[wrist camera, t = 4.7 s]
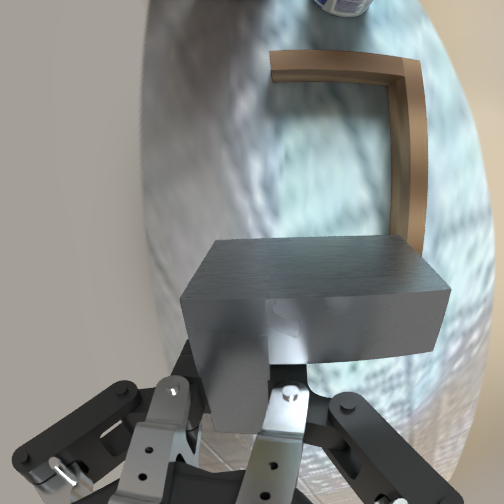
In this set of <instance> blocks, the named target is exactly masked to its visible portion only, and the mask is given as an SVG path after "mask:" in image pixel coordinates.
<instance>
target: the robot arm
mask: <svg viewBox="0 0 504 504" xmlns="http://www.w3.org/2000/svg"><path fill="white" fill-rule="evenodd" d="M267 382H268V400H269V405H268V408H267V412H266V416H265V420H264V423H263V427H262V430H261V432H258V434H257V436H256V439H255V443H254V446H253V449H252V453H251V456H250V459H249V463H248V466H247V469H246V470H238V471H229V472H219V473H211V472H208V471H205V470H202V469H200V468H199V463H198V456H199V448H200V439H201V431H202V422H201V419H202V415H203V413H208V414H211V411H210V407H209V404H208V401H207V397H206V394H205V390H204V387H203V383H202V380H201V377H199V376H198V372H197V368H196V365H195V361H194V357H193V353H192V350H191V346H190V342H189V339H188V340H187V341H186V343H185V345H184V347H183V350H182V352H181V354H180V356H179V358H178V360H177V362H176V365H175V367H174V369H173V371H172V373H171V375H170V376H168V377H165V378H163V379H162V380H160V381H159V382H158V384H157V386H156V387H154V388H147V389H138V388H137V386H136V385H135V384H134V383H133V382H131V381H127V380H123V381H118V382H116V383H114V384H112V385H111V386H109V387H108V388H107V389H105V390H104V391H102V392H101V393H100V394H98V395H97V396H95V397H94V398H92V399H91V400H89V401H88V402H86V403H85V404H84V405H82V406H81V407H79V408H78V409H76V410H75V411H73V412H72V413H70V414H69V415H67V416H66V417H64V418H63V419H61V420H60V421H58V422H57V423H55V424H54V425H52V426H51V427H49V428H48V429H46V430H45V431H43V432H42V433H41V434H39V435H37V436H36V437H34V438H33V439H31V440H30V441H28V442H27V443H25V444H23V445H22V446H20V447H19V448H18V449H16V450H15V452H14V453H13V456H12V464H13V466H14V468H15V469H16V470H17V471H18V472H19V473H20V474H21V475H22V476H24V477H25V478H26V480H27V481H28V482H30V483H31V484H32V485H33V486H34V487H35V489H36V490H37V492H38V494H39V495H40V497H41V498H42V500H43V502H44V503H45V504H313V503H312V502H311V501H310V500H309V499H308V498H307V497H306V496H305V495H304V494H303V493H302V492H301V491H300V490H298V489H297V488H296V486H297V481H298V475H299V469H300V463H301V457H302V451H303V444H304V443H306V444H310V445H314V446H318V447H322V449H323V450H324V452H325V453H326V454H327V456H328V457H329V459H330V460H331V461H332V463H333V464H334V465H335V467H336V468H337V469H338V471H339V472H340V473H341V475H342V476H343V477H344V479H345V480H346V481H347V483H348V484H349V485H350V486H351V488H352V489H353V490H354V492H355V493H356V494H357V495H358V497H359V498H360V499H361V500H362V502H363V503H364V504H464V501H463V498H462V496H461V495H460V494H459V493H458V492H457V491H456V490H455V489H454V488H453V487H452V486H451V485H450V484H449V483H448V482H447V481H446V480H445V479H444V478H443V477H442V476H441V475H439V474H438V473H437V472H436V471H435V470H434V469H433V468H432V467H431V466H430V465H429V464H428V463H427V462H426V461H425V460H424V459H423V458H422V457H421V456H420V455H419V454H418V453H417V452H416V451H415V450H414V449H413V448H412V447H411V446H410V445H409V444H408V443H407V442H406V441H405V440H404V439H403V438H402V437H401V436H400V435H399V434H398V433H397V432H396V431H395V430H394V429H393V427H392V426H391V425H390V424H389V423H388V422H387V421H386V420H385V419H384V418H383V417H382V416H381V415H380V414H379V413H378V412H377V411H376V410H375V409H374V408H373V407H372V406H371V405H370V404H369V403H368V402H367V401H366V400H365V399H364V398H363V397H362V396H361V395H359V394H357V393H354V392H343V393H339V394H337V395H335V396H334V397H333V398H327V397H323V396H319V395H317V394H315V393H314V392H312V391H311V389H310V388H309V386H308V383H307V367H306V364H271V375H270V380H267ZM119 420H121V421H122V423H121V424H119V425H118V426H117V427H116V428H114V429H113V430H112V431H110V432H109V433H108V434H106V435H105V436H104V437H102V438H100V436H101V434H102V433H103V432H105V431H106V430H107V429H109V428H110V427H111V426H113V425H114V424H115V423H117V422H118V421H119ZM124 460H125V463H124V466H123V470H122V474H121V477H120V478H119V479H117V480H116V481H114V482H112V483H110V484H108V485H106V486H105V487H103V488H101V489H99V490H97V491H95V492H94V491H93V484H95V483H96V482H97V481H99V480H100V479H101V478H103V477H104V476H105V475H106V474H108V473H109V472H110V471H112V470H113V469H114V468H116V467H117V466H118V465H119V464H120V463H122V462H123V461H124Z"/></svg>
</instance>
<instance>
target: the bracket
mask: <svg viewBox="0 0 504 504" xmlns="http://www.w3.org/2000/svg"><path fill="white" fill-rule="evenodd" d="M450 293H451V288H450V287H449V286H448V284H447V283H446V282H445V281H444V280H443V279H442V278H441V277H440V276H439V275H438V274H437V273H436V271H435V270H434V269H433V268H432V267H431V266H430V265H429V264H428V263H427V262H426V261H425V260H424V259H423V258H422V257H421V256H420V255H419V254H418V253H417V252H416V251H415V250H414V249H413V248H412V247H411V246H410V245H409V244H408V243H407V242H406V241H405V240H404V239H403V238H402V237H401V236H400V235H371V236H328V237H292V238H261V239H232V240H216V241H215V242H214V244H213V245H212V247H211V249H210V250H209V252H208V253H207V255H206V257H205V258H204V260H203V261H202V263H201V265H200V266H199V268H198V269H197V271H196V273H195V274H194V276H193V277H192V279H191V281H190V282H189V284H188V286H187V287H186V289H185V291H184V292H183V294H182V295H181V297H180V304H181V308H182V312H183V317H184V321H185V325H186V329H187V334H188V338H189V342H190V346H191V350H192V353H193V357H194V361H195V365H196V368H197V372H198V376H199V377H201V380H202V383H203V387H204V390H205V394H206V397H207V401H208V404H209V407H210V411H211V414H210V416H211V419H212V423H213V426H214V429H215V432H226V433H240V434H258V432H261V430H262V427H263V423H264V420H265V416H266V412H267V408H268V405H269V400H268V382H267V380H270V375H271V364H313V363H333V362H348V361H360V360H371V359H380V358H389V357H397V356H405V355H412V354H419V353H425V352H431V351H433V349H434V346H435V343H436V340H437V337H438V334H439V331H440V328H441V325H442V322H443V318H444V315H445V312H446V308H447V304H448V301H449V297H450Z"/></svg>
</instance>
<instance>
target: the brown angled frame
mask: <svg viewBox="0 0 504 504" xmlns="http://www.w3.org/2000/svg"><path fill="white" fill-rule="evenodd" d="M269 54H270V65H271V73H272V79H273V83H278V82H346V83H362V84H374V85H384V86H387V91H388V101H389V113H390V129H391V156H392V188H391V216H390V233H389V235H400V236H401V237H402V238H403V239H404V240H405V241H406V242H407V243H408V244H409V245H410V246H411V247H412V248H413V249H414V250H415V251H416V252H417V253H418V254H419V255H420V256H421V257H422V250H423V242H424V233H425V222H426V209H427V190H428V135H427V117H426V105H425V94H424V86H423V78H422V71H421V64H420V61H418V60H413V59H408V58H402V57H396V56H389V55H381V54H373V53H363V52H351V51H335V50H280V51H269Z"/></svg>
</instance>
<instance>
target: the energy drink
mask: <svg viewBox="0 0 504 504" xmlns="http://www.w3.org/2000/svg"><path fill="white" fill-rule="evenodd" d="M313 1H314V3H315V4H316V5H317V6H318V7H320V8H321V9H322V10H324V11H326V12H328V13H330V14H333V15H336V16H340V17H355V16H359V15H361V14H363V13H364V12H365V11H366V10H367V9H368V7H369V6H370V4H371V3H372V1H373V0H313Z"/></svg>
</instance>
